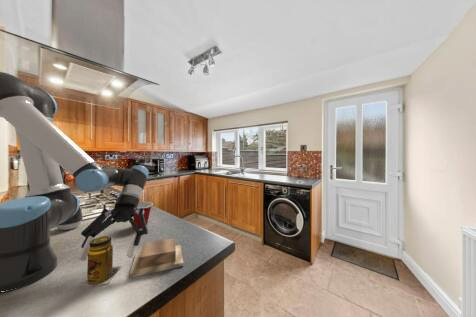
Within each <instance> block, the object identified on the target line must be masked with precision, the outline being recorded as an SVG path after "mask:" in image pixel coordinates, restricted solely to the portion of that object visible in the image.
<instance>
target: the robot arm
mask: <svg viewBox="0 0 476 317" xmlns="http://www.w3.org/2000/svg"><path fill="white" fill-rule="evenodd" d="M57 111H58V104H57V102H56V100H55V98H54V97H53V96H52V95H51V94H50V93H48V92H47V91H45V89H42V88H40V87H38V86H35V85H33V84H31V83H29V82H26V81H25V80H23V79H21V78H20V77H17V76H15V75H13V74H10V73H7V72H3V71H0V118H3V119H4V120H5V121H6V122H8V123H9V124H10V125H11V126H12V127H13V128H14V130H15V134H16V138H17V142H18V145H19V150H20V154H21V157H22V161H23V167H24V170H25V173H26V174H25V175H26V177H27V178H26V179H27V182H28V186H29V191H28V192H27V193H26V194H25V195H24V197H21V198H18V199H17V198H16V199H11V200H7V201H5V202H2V203H0V292H1V291H6V290H10V291H12V290H11V289H14V290H16V289H15V288H17V289H20V288H22V286H23V287H25V286H27V285H30V284H32V283H34V282H37V281H39V280H42V278H44V277H46V276H48V275H49V274H51V273H52V272H53V271H54V270H55V269H56V268H57V266H58V257H57V255H56V253H55V251H54V249H53V247H52V246H51V243H50V242H51V230H52V229H53V228H55V227H56V226H57V225H59V224H61V223H63V222H65V221H67V220H68V219H70V218H71V217H72V216H73V215H74V214H75V213H76V212H77V211H78V209H79V206H80V200H79V197H78V196H77V195H76V194H74V193H72V192H71V187H70V186H69V185H67V184H65V183H64V181H63V180H64V179H63V176H62V172H61V168H63V170H65V171H66V172H67V173H68V174H70V175H71V176H72V177H73V178H75V185H76V187H77V189H79V190H80V191H82V192H85V193H93V192H99V191H102V190H104V189H105V188H107V187H110V186H114V187H115V186H116V187H122V188H121V190H120V192H119V195H118V198H117V199H116V201H115V204H114V208H113V209H110V210H109V209H107V208H104V209H103V210H102V211H101V213H100V214H99V215H98V216H97V217H96V218H95V219H94V220H93V221H92V222H90V223H89V225H88V226H87V227H85V229H84V230H82V231H81V232H80V235H81V236H83V237H84V240H83V242H82V243H81V247H80V248H82V249H81V252H80V253H79V254H78V257H77V259H78V260H79V261H82V262H85V261H86V259H88V251H89V247H90V242H91V241H92V240H94V239H95V237H96V236H98V235H100V233H102V232H103V231H104V230H106V229H107V228H108V227H109V226H112V225H114V224H115V223H116V224H117V223H127V222H129V223H130V225H131V227H132V228H133V230H134V231H135V233H134V234H133V235H132V237H131V241H130V244H129V248H128V251H127V253H126V257H127V258H129V259H130V258H131V259H132V258H133V256H134V253H135V249H136V247H138V246H139V244H140V242H141V238H142V236H144V235H148V233H149V230H148V227H147V226H148V225H147V226H146V222H145V218H144V213H145V211H144V210H143V208H140V209H139V210H136V209H137V207H138V204H139V202H140V200H141V197H142V194H143V191H144V189H145V187H146V183H147V181H148V177H149V174H150V172H149V170H148V168H147V167H145V166H143V165H140V164H138V165H133V166H132V167H130V168H120V167H113V166H109V165H101V164H99V163H98V162H96V161H95V160H94V159H93V158H92V156H90V155H89V154H88V153H86V151H84V150H83V149H82V148H81V147H80V146H79V145H78V144H77V143H76V142H74V141H73V140H72V139H71V138H70V137H69V136H68V135H66V133H65V132H63V131H62V130H61V129H60V128H59V127H58V126H56V125H55V123H53V122H54V121H55V120H54V116H55V114H56V113H57ZM60 167H61V168H60ZM136 213H137V214H138V215H139V218H140V222H141V226H142V227H141V230H140V228H138V226H137V225H136V223H135V222H134V219H133V216H134V215H135V214H136ZM19 287H20V288H19Z"/></svg>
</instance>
